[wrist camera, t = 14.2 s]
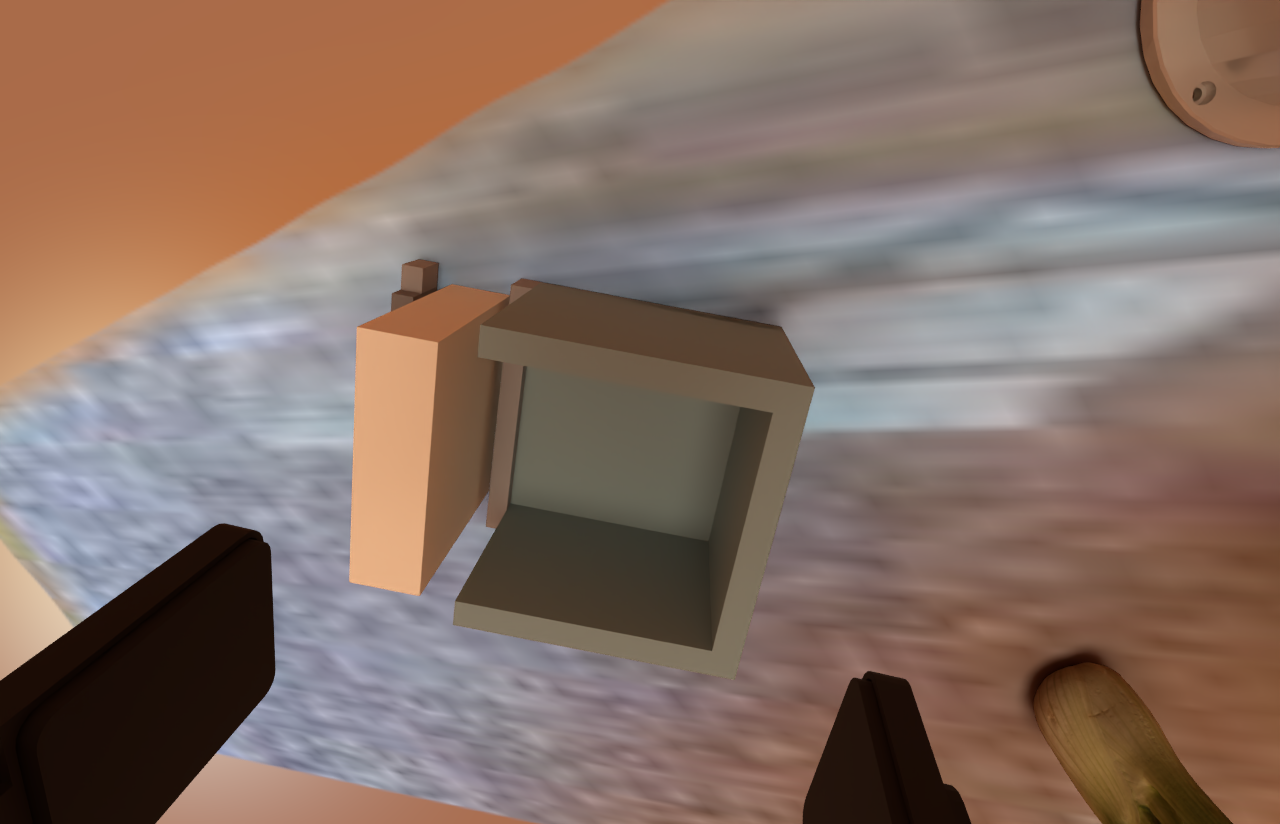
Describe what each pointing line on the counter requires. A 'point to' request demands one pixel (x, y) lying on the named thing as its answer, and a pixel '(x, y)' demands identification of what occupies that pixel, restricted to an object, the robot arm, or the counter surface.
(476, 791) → the counter surface
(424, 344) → the door
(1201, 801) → the fennel bulb
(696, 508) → the cabinet
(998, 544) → the counter surface
